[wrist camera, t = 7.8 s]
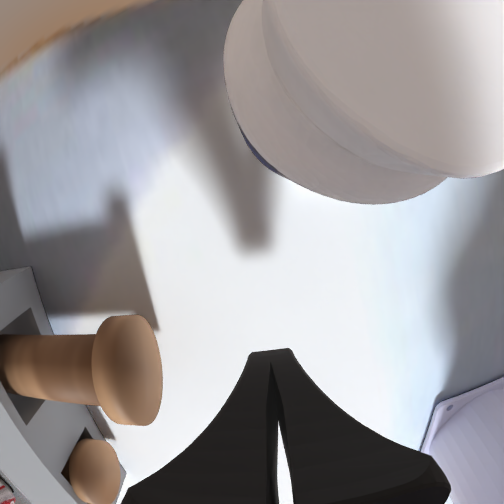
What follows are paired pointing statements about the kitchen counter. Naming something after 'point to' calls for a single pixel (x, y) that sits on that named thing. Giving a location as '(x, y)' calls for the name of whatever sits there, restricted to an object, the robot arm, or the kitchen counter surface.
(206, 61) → the kitchen counter surface
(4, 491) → the soda can
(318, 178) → the pill bottle
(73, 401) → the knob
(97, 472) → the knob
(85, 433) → the mount block
